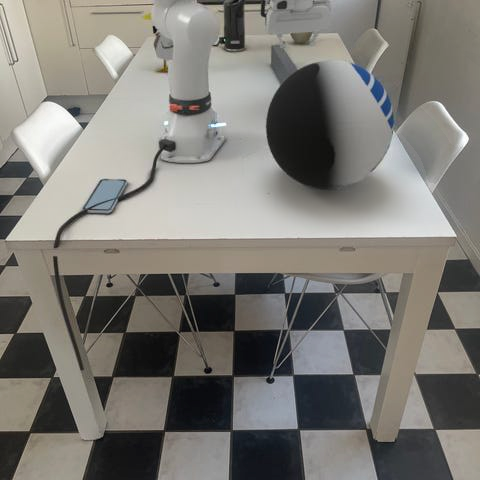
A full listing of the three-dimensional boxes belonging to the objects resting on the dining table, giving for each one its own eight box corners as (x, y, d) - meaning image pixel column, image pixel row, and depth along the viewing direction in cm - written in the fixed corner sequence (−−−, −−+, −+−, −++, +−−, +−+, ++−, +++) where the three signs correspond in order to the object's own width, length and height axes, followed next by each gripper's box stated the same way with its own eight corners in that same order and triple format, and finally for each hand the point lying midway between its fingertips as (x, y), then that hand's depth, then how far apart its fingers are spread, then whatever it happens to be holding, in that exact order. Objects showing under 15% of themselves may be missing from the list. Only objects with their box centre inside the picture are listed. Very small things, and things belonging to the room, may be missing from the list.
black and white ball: (400, 209, 120) (424, 81, 103) (272, 216, 119) (274, 88, 101) (366, 153, 144) (380, 42, 127) (260, 158, 143) (260, 47, 126)
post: (308, 109, 173) (309, 86, 168) (296, 110, 172) (297, 86, 168) (280, 64, 215) (281, 44, 210) (270, 65, 215) (271, 45, 210)
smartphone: (80, 210, 121) (100, 178, 133) (81, 213, 122) (101, 181, 134) (110, 211, 121) (128, 179, 133) (111, 214, 121) (128, 182, 133)
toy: (155, 65, 218) (148, 2, 203) (198, 69, 211) (194, 5, 197) (145, 70, 212) (137, 6, 198) (190, 75, 205) (185, 9, 191)
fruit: (304, 38, 249) (305, 4, 240) (316, 43, 240) (318, 9, 231) (284, 40, 245) (285, 7, 237) (296, 46, 237) (297, 11, 228)
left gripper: (328, -4, 162) (326, 41, 170) (264, 0, 160) (265, 46, 168) (334, 0, 156) (331, 47, 165) (268, 4, 155) (268, 51, 163)
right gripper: (296, -21, 196) (294, 24, 205) (259, -20, 195) (259, 26, 204) (300, -18, 190) (298, 28, 199) (262, -16, 188) (262, 30, 198)
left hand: (297, 46), depth 166 cm, fingers open, 8 cm apart
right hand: (278, 27), depth 201 cm, fingers open, 8 cm apart
